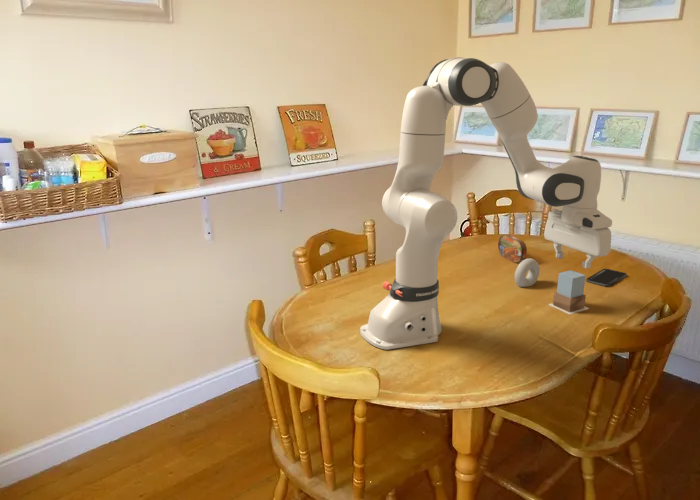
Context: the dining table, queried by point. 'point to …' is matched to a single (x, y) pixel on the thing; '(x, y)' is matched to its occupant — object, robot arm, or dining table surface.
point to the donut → (522, 270)
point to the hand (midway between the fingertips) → (572, 262)
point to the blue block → (571, 284)
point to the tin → (512, 248)
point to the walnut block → (569, 302)
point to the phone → (606, 277)
